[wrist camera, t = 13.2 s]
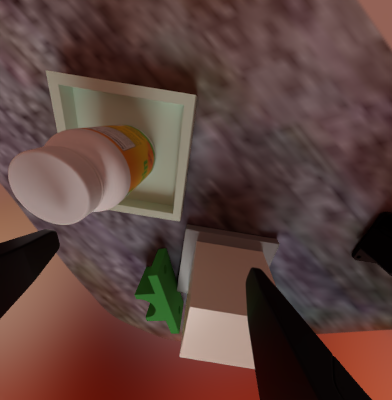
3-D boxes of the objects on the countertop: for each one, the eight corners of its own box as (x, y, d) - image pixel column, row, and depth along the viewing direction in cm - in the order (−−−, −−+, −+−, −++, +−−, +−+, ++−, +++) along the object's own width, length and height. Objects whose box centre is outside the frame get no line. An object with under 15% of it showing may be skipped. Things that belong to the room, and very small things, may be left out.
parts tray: (197, 97, 15) (195, 95, 13) (182, 211, 20) (179, 221, 18) (66, 76, 15) (45, 70, 13) (84, 195, 20) (71, 203, 18)
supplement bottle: (142, 189, 19) (84, 251, 10) (95, 160, 18) (-14, 203, 9) (167, 146, 17) (119, 179, 8) (115, 111, 16) (-3, 105, 7)
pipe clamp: (140, 249, 24) (125, 277, 20) (166, 247, 23) (157, 274, 19) (161, 303, 28) (153, 335, 24) (183, 302, 28) (179, 334, 24)
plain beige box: (276, 238, 21) (317, 314, 13) (250, 297, 26) (269, 379, 18) (186, 224, 21) (172, 291, 13) (177, 285, 26) (163, 361, 18)
